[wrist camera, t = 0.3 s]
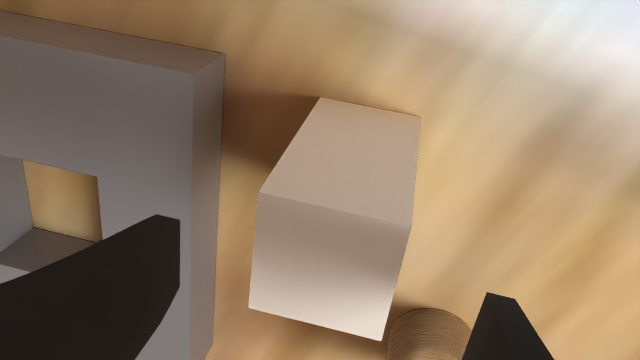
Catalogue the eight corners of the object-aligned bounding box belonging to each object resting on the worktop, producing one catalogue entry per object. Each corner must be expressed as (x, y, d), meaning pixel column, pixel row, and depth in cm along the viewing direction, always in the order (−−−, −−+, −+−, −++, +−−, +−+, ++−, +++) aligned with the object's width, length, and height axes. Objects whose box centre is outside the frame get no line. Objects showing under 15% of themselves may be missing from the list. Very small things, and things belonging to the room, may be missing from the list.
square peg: (399, 204, 22) (381, 341, 15) (308, 184, 22) (248, 308, 15) (420, 117, 20) (411, 226, 13) (320, 96, 20) (258, 191, 13)
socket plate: (212, 344, 28) (188, 388, 25) (-18, 283, 29) (-63, 319, 27) (225, 53, 20) (193, 74, 18) (-87, -7, 22) (-159, 4, 19)
